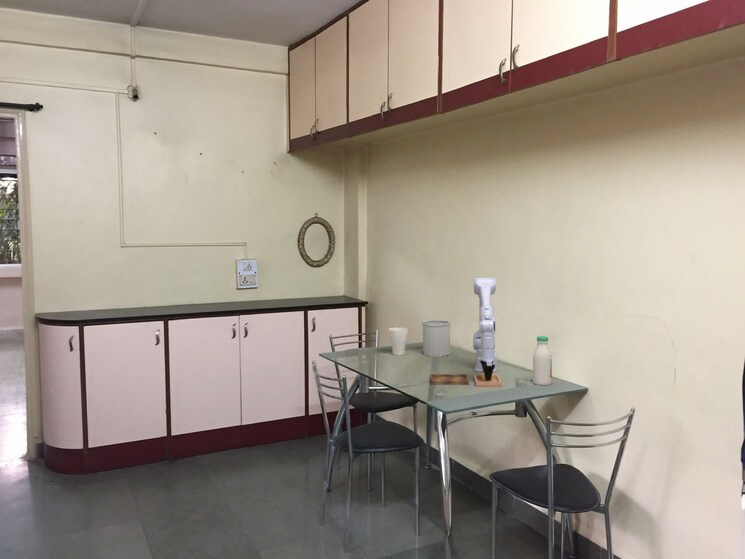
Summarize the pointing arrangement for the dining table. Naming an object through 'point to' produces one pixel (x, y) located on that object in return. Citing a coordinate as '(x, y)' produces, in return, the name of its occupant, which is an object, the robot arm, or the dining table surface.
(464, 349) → the dining table surface
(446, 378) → the tray
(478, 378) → the dish
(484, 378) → the ball
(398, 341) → the cup
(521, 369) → the dining table surface
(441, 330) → the utensil holder
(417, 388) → the dining table surface
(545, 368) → the milk bottle
